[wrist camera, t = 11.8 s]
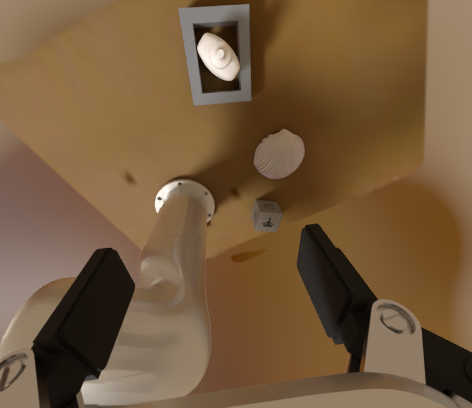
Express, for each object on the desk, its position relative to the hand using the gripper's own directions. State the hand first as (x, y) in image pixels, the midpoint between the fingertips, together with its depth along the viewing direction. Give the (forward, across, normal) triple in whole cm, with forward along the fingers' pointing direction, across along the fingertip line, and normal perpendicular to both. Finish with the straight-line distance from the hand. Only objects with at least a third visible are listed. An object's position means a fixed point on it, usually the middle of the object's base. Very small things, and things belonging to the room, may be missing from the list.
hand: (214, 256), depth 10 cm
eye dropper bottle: (+31, -2, -10) cm, 32 cm away
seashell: (+31, -12, +6) cm, 34 cm away
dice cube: (+31, -9, +19) cm, 37 cm away
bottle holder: (+30, -2, -10) cm, 32 cm away
